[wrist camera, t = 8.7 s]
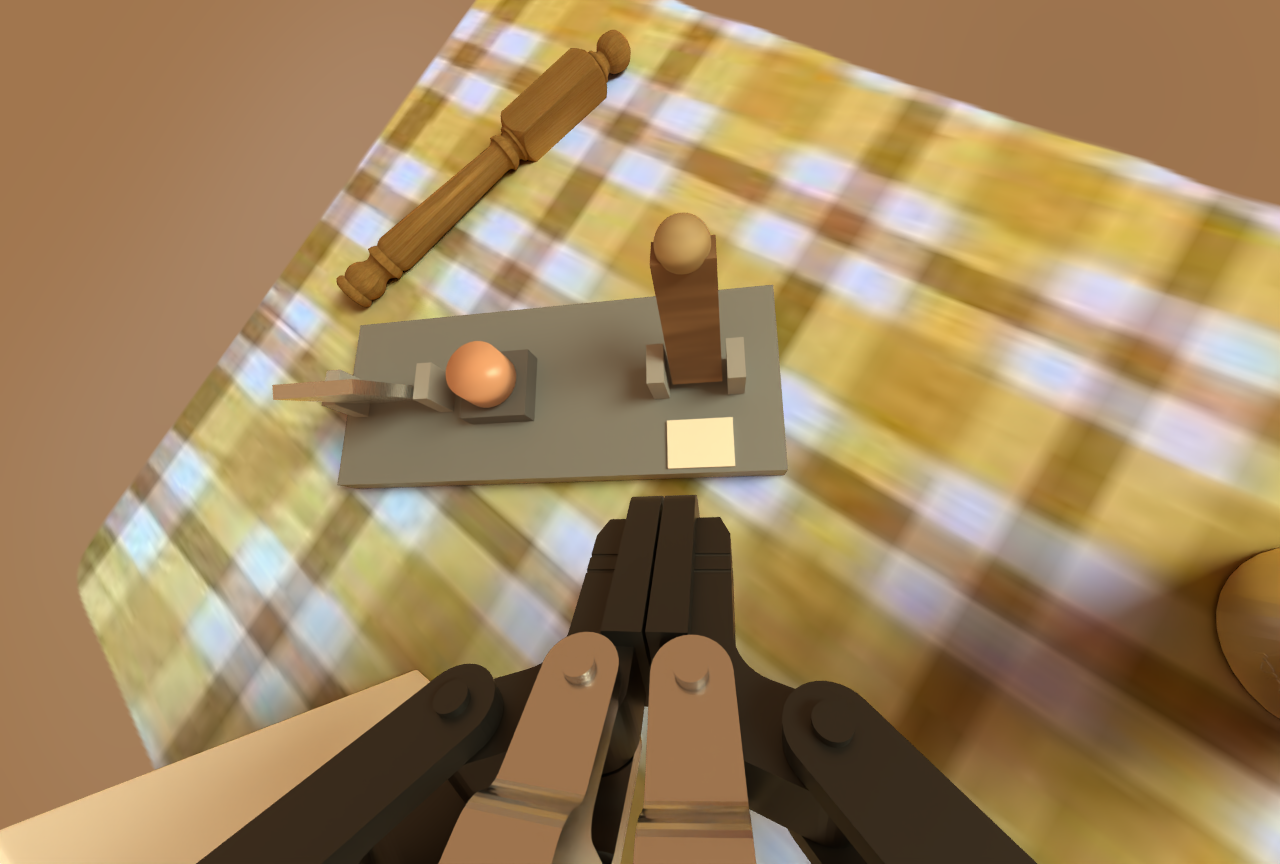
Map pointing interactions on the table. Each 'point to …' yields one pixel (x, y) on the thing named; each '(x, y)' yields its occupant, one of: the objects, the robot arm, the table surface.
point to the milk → (201, 790)
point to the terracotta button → (480, 374)
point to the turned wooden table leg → (494, 160)
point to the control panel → (568, 399)
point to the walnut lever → (688, 298)
